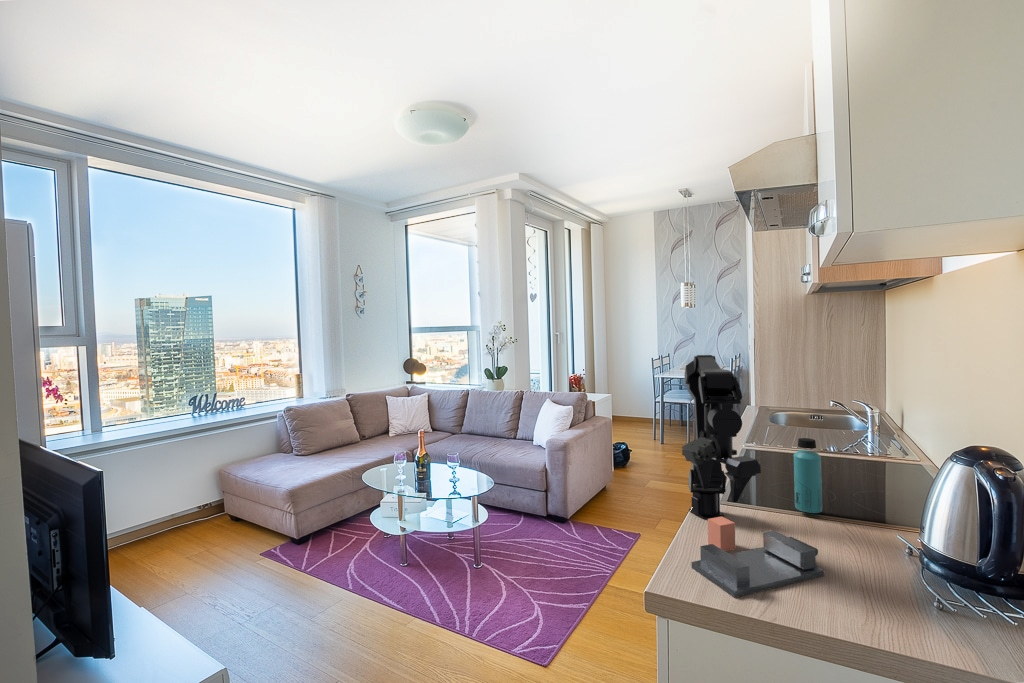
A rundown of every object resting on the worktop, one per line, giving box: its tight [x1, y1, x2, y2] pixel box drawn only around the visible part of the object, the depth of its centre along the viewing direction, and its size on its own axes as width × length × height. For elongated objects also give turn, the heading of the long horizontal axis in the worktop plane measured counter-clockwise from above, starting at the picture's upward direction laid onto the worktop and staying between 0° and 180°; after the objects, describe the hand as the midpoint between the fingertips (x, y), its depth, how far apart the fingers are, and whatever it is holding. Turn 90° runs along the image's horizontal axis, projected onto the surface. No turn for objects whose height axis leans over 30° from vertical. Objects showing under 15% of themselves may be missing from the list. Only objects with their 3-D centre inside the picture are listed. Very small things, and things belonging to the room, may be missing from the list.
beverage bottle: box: [792, 437, 824, 514], centre depth 126 cm, size 6×7×20 cm
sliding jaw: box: [762, 529, 819, 570], centre depth 100 cm, size 6×10×4 cm, turn 18°
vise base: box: [690, 544, 825, 599], centre depth 97 cm, size 22×12×5 cm, turn 108°
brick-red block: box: [707, 516, 736, 552], centre depth 109 cm, size 4×4×6 cm
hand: (719, 495), depth 108 cm, fingers open, 9 cm apart
